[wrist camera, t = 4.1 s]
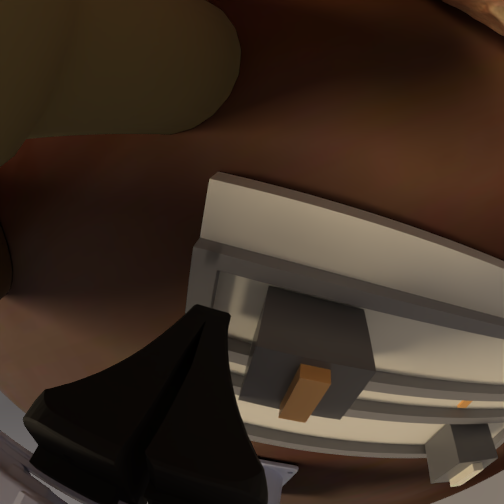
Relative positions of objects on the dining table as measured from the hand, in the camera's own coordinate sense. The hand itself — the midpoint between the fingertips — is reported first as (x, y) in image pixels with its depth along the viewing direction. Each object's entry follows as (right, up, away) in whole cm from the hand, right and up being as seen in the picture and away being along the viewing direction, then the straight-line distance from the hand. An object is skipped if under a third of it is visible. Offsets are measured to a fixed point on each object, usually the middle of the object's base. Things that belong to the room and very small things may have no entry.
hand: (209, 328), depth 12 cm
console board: (+11, -4, +4) cm, 12 cm away
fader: (+16, -10, +4) cm, 19 cm away
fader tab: (+4, 0, +1) cm, 4 cm away
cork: (-2, +10, -1) cm, 10 cm away
